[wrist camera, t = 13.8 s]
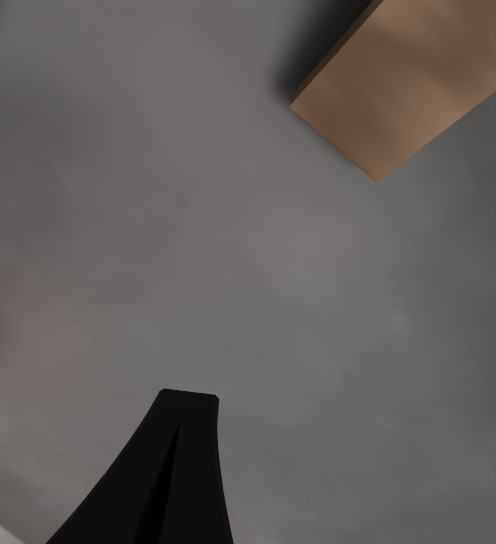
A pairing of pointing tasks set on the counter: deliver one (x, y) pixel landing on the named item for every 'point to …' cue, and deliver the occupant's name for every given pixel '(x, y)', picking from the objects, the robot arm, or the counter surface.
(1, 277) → the counter surface
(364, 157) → the domino
